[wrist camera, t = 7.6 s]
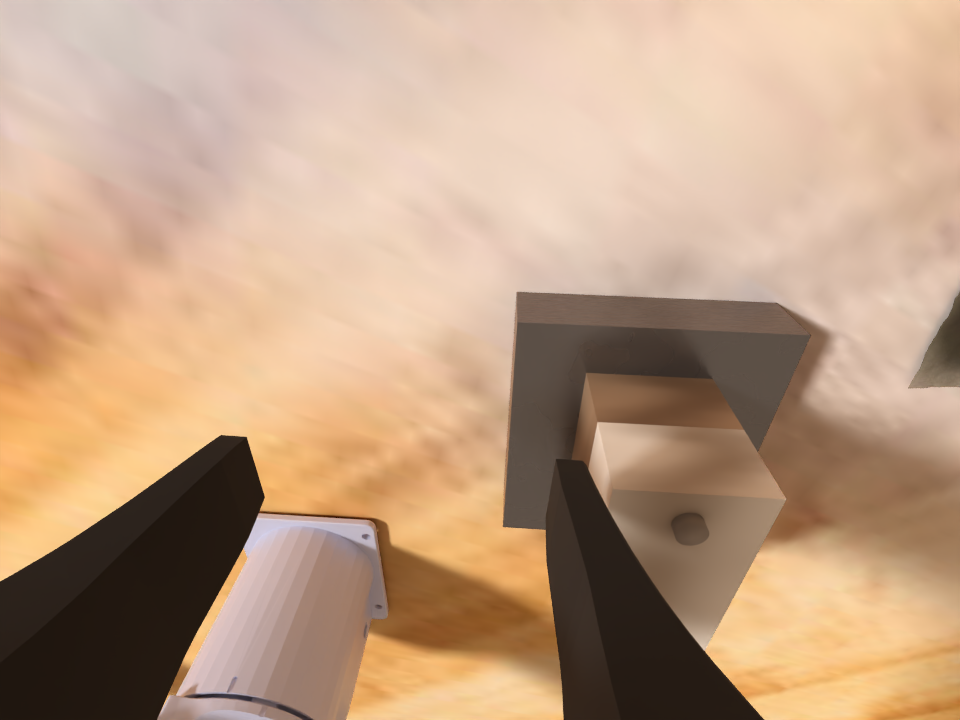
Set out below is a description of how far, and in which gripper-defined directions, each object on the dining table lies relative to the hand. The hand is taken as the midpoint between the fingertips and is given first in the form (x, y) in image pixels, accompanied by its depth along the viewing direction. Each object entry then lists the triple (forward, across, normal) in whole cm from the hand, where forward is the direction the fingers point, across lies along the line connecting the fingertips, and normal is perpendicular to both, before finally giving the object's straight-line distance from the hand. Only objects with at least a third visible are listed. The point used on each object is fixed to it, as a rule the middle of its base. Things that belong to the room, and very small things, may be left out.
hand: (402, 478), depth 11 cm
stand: (+9, -8, +5) cm, 13 cm away
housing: (+7, -8, +5) cm, 12 cm away
